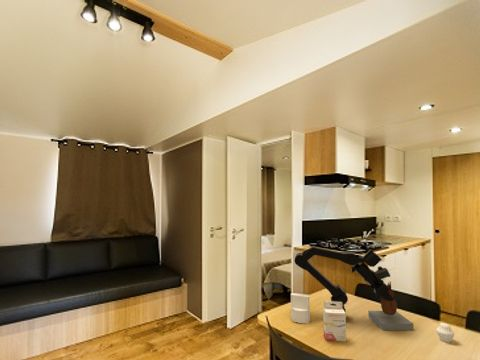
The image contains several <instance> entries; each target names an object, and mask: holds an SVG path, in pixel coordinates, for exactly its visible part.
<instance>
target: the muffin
mask: <svg viewBox="0 0 480 360" xmlns="http://www.w3.org/2000/svg"><path fill="white" fill-rule="evenodd" d="M436 333H437V336H438V337H439V338H440V341H442V342H445V343H451V342H452V340H453V339H454V336H455V332H454V331H453V330H452V328H451V326H450V325H449V324H447V323H446V322H445V323H444V322H442V323H440V324H439V326H438V327H436Z"/></svg>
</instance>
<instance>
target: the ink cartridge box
mask: <svg viewBox="0 0 480 360" xmlns="http://www.w3.org/2000/svg"><path fill="white" fill-rule="evenodd" d="M330 304H336V306H333V305H330ZM322 309H323V311H322V312H323V319H322V321H323V336H324V339H325V341H333V340H334V341H335V342H346V341H347V317H346V316H347V313H345V312H344V310H343V309H342V302H332V301H331V300H329V301H327V300H326V301H323V308H322Z"/></svg>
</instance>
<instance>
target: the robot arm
mask: <svg viewBox="0 0 480 360" xmlns="http://www.w3.org/2000/svg"><path fill="white" fill-rule="evenodd" d="M314 256H317V257H318V256H319V257H323V258H327V259H328V258H329V259H333V260H338V261H340V262H342V263H344V264H346V265H349V266H350V271H351V273H352V274H354V273H355V272H356V273H357V274H359V276H360V277H361V278H362V279H363V280H364V281H365V282H366V283H368V285H369V286H370V287H371V288H372V289H373V292H374V293H375V295H377V297H379V298H380V297H381V298H383V297H384V298H386V299H389V300H391V301H393V300H394V299H395V298H394V297H393V298H394V299H393V298H392V296H391V295H390V294H389V292H388V289H389V287H388V286H387V285H388V284H386V283H385V281H384V280H383V279H386V278H390V277H391V273H390V272H389V270H388V269H387V267H382V265H379V266H377V265H378V264H379V263H380V262H381V261H382V258H381V257H380V256H379V255H378V254H377V253H376V252H374V251H373V249H369V250H368V251H367V252H366V253H365V254H364V255H361V254H356V253H355V252H353V251H347V250H345V251H343V250H342V251H337V250H332V249H328V248H323V247H319V246H316V245H312V246H311V247H309V248H308V249H306V250H304V251H302V252H297V254H296V255H295V257H294V263H295V265H297V267H299V268H300V269H302V270H305V271H306V272H308V273H309V274H310V275H311V276H312V277H313V278H314V279H315V280H316V281H318V283H320V284H321V285H322V286H323V287H324V288H325V289H326V290H327V291H328V292H329V293H330V295H331V297H330V301H332V302H342V309H343V310H344V312H345V313H346V310H347V309H346V308H345V305H346V304H348V301H349V299H348V294H347V293H346V292H347V291H346V289H345V288H344V287H342V286H341V285H340V283H338V284H337V285H336V284H335V283H333V282H332V281H331V280H330V279H328V277H326V276H325V275H324V274H323V273H322V272H321V271H319V269H317V268H316V266H314V265H313V264H312V263H311V261H310V259H312V257H314ZM376 266H377V269H376V270H375V271H374V269H373V270H372V269H371V268H374V267H376ZM370 267H371V268H370ZM330 305H333V306H336V304H330ZM346 314H347V313H346Z"/></svg>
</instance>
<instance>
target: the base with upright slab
mask: <svg viewBox="0 0 480 360" xmlns="http://www.w3.org/2000/svg"><path fill="white" fill-rule="evenodd" d="M310 307H311V306H310V294H304V293H297V292H292V293H290V313H291V316H290V318H291V319H292V320H293V321H294V322H293V321H292V320H291V319H290V320H291V321H292V322H293V323H295V322H298V323H297V324H299V323H306V324H308V322H309V321H310V322H311V319H310V317H311V315H310V314H311V312H310V311H311V310H310ZM310 322H309V323H310Z"/></svg>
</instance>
